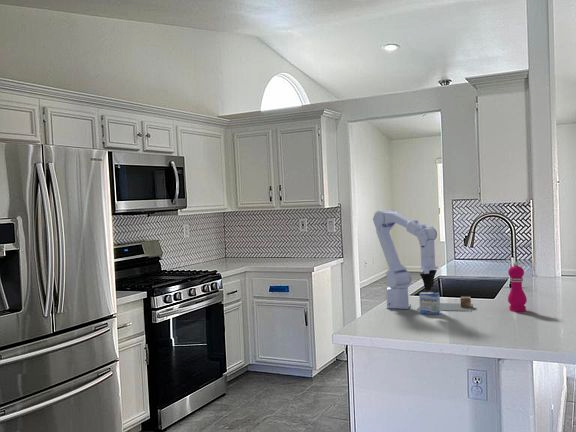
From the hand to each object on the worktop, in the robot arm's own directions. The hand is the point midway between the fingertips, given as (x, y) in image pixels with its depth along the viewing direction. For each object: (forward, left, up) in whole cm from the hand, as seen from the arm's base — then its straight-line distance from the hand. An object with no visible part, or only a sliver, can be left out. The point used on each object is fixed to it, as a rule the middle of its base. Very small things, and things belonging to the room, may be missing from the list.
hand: (429, 288), depth 221 cm
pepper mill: (+34, +11, -11) cm, 37 cm away
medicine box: (0, 0, -11) cm, 11 cm away
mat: (+5, +13, -10) cm, 17 cm away
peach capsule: (-2, +18, -10) cm, 21 cm away
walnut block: (+14, +14, -10) cm, 22 cm away
